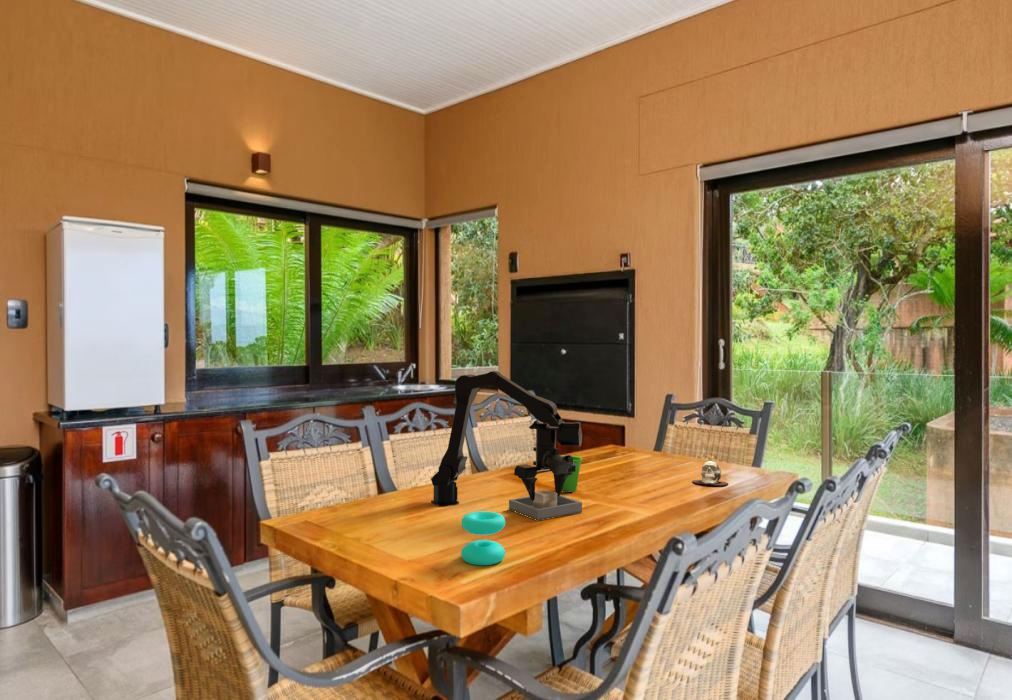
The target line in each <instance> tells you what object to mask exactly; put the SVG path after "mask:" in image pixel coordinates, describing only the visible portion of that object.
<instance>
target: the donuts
mask: <svg viewBox="0 0 1012 700" xmlns="http://www.w3.org/2000/svg"><path fill="white" fill-rule="evenodd" d="M460 522H461V525H460V526H461V527H462V528H463V530H464V531H466V533H470V534H472V535H475V536H477V535H479V536H488V535H489V536H490V535H493V534H497V533H499V532H501V531H502V530H503V529H504V528H505V526H506V518H505V517H504V516H503V515H502V514H501V513H499V512H498V513H497V512H496V511H495V512H494V511H489V510H488V511H487V510H483V511H482V510H481V511H479V510H478V511H473V512H469V513H467V514H465V515H464V516H463V517H462V518H461V521H460ZM460 555H461V559H462V560H464V562H466V563H468V564H471V565H474V566H492V565H495V564H498V563H500V562H501V561H503V560H504V558H505V556H506V551H505V548H504V546H503V545H502V544H500V543H499V542H497V541H494V540H489V539H479V540H473V541H470V542H469V543H468V542H467V544H465V545H464V546H463V547H462V549H461V552H460Z"/></svg>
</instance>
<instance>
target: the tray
mask: <svg viewBox="0 0 1012 700" xmlns="http://www.w3.org/2000/svg"><path fill="white" fill-rule="evenodd" d="M509 509H510V510H513V511H516V512H518V513H521V514H523V515H526V516H528V517H531V518H533V519H536V520H541V521H543V520H542V519H546V520H548V519H547V518H552V517H557V518H559V517H558V516H562V517H565V516H564V515H568V516H571V515H570V514H573V515H576V514H575V513H578V514H582V513H583V502H582V501H579V500H575V499H573V498H569V497H566V496H563V495H560V496H557V506H553V507H547V508H541V509H537V508H534V507H533V500H531V498H530V496H529V495H528V496H524V497H518V498H511V499H508V510H509ZM510 510H509V511H510ZM513 511H512V512H513ZM581 512H582V513H581ZM518 513H517V514H518ZM521 514H520V515H521ZM523 515H522V516H523ZM526 516H525V517H526ZM528 517H527V518H528ZM531 518H530V519H531ZM533 519H532V520H533ZM552 519H553V518H552ZM536 520H535V521H536Z"/></svg>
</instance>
